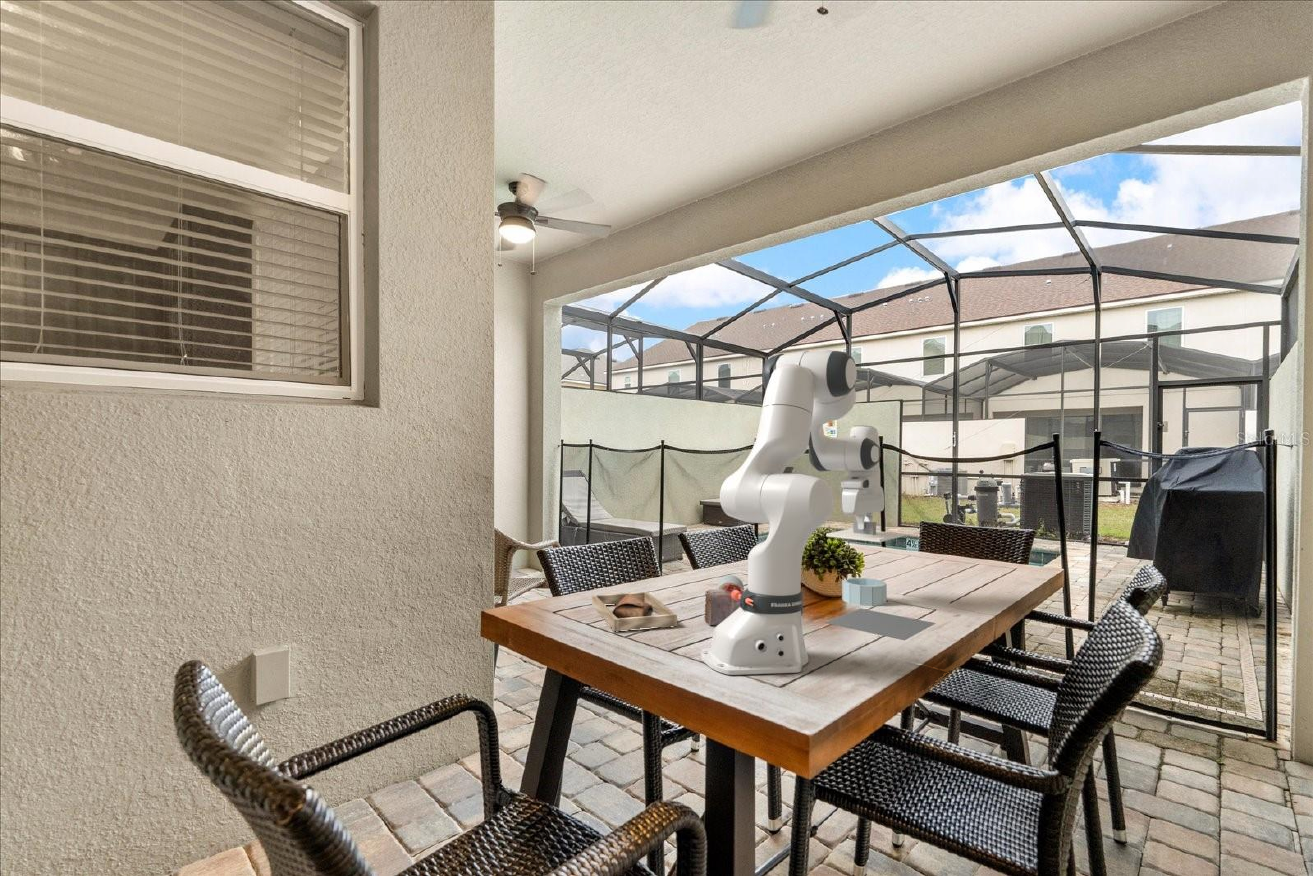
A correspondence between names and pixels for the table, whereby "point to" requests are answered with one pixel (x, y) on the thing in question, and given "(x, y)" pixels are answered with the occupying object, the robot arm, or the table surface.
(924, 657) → the table surface
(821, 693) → the table surface
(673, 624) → the case frame
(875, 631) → the mat
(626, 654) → the table surface
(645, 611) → the sunglasses case
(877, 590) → the bowl
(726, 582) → the ceramic mug
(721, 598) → the food item
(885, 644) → the table surface
